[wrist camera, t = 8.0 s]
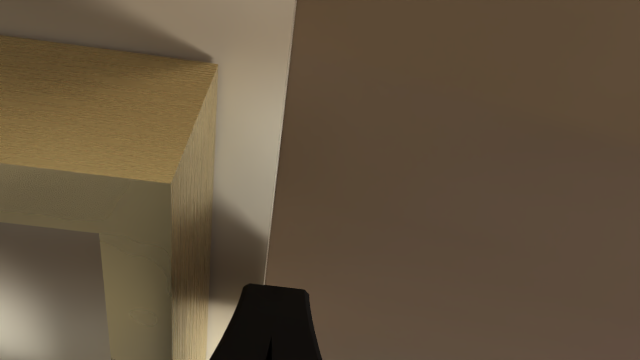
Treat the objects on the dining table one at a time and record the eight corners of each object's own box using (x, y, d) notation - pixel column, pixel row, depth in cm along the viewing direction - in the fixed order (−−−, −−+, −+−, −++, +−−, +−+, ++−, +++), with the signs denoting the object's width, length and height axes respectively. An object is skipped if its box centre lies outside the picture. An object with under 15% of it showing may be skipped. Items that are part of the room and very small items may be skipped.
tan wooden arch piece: (203, 427, 16) (173, 575, 13) (16, 409, 15) (-57, 556, 13) (218, 63, 10) (170, 183, 7) (-79, 24, 10) (-256, 132, 7)
